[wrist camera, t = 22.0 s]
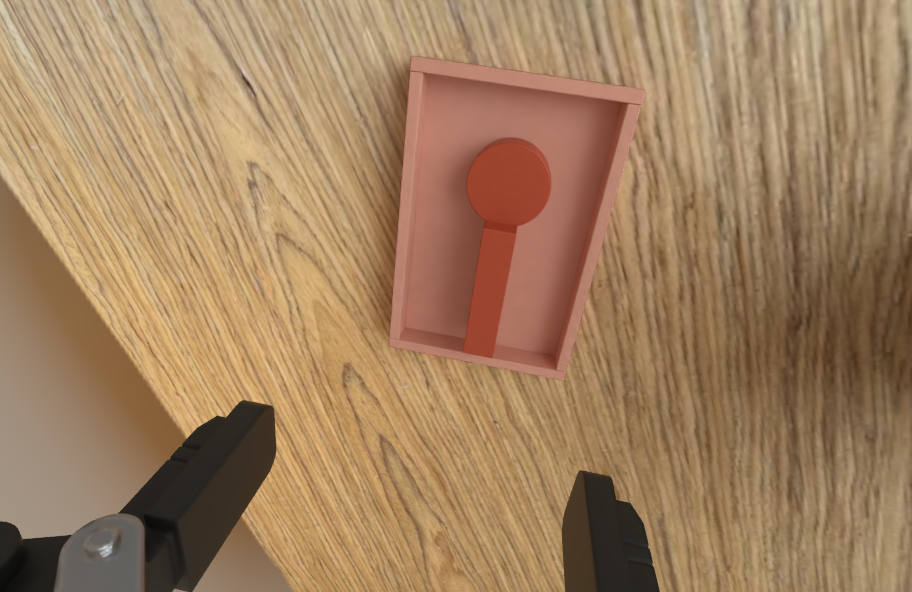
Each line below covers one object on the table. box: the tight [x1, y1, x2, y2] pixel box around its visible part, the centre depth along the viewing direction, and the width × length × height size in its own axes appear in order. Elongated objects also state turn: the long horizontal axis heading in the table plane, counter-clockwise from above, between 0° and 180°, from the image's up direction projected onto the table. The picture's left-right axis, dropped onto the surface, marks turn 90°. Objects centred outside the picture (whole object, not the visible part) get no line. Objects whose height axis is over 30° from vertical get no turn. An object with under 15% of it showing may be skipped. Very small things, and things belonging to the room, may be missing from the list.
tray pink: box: [389, 56, 645, 381], centre depth 25 cm, size 15×10×2 cm
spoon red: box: [463, 137, 551, 358], centre depth 24 cm, size 11×4×3 cm, turn 173°
